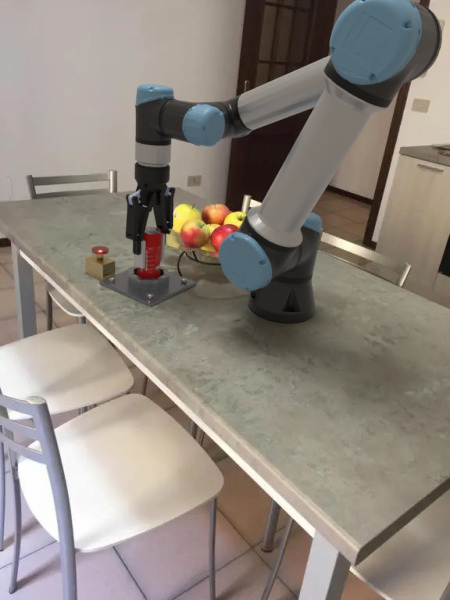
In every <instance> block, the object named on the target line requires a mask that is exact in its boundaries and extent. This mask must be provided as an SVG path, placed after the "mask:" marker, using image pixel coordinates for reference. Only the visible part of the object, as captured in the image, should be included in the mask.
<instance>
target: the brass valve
mask: <svg viewBox="0 0 450 600" xmlns="http://www.w3.org/2000/svg"><path fill="white" fill-rule="evenodd" d="M109 250H110V249H109V248H108V247H107V246H102V245H97V246H92V247H91V250H90V251H91V253H92V254H93V255H90V256H87V257H85V258H84V260H85V261H84V264H85V269H84V270H85V274H88V275H90V276H91V277H94V278H97V279H99V280H103V279H106V278H108V277H111V276H113V275H116V260H114V259H112V258H109V257H107V256H105V255H108V253H109V252H110V251H109Z"/></svg>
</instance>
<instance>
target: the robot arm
mask: <svg viewBox="0 0 450 600" xmlns="http://www.w3.org/2000/svg"><path fill="white" fill-rule="evenodd" d="M441 26H442V25H441V23H440V20H439V18H438V16H436V14H435V13H434V11H432V10H431V9H430V8H429V7H427V6H426V5H424V4H422V3H418V2H415V1H413V0H354V1H352V3H350V4H349V5H348V6H347V7H346V8H345V9H344V10H343V11H342V12H341V13H340V15H339V16H338V18H337V20H336V21H335V24H334V25H333V28H332V29H331V34H330V38H329V48H330V50H329V51H330V55H328V56H326V57H322V58H320V59H319V60H316V61H314V62H312V63H309V64H307V65H305V66H302V67H300V68H299V69H296V70H293V71H292V72H291V71H290V72H289V73H287V74H284V75H282V76H280V77H278V78H275V79H273V80H271V81H269V82H266V83H264V84H261V85H259V86H257V87H254V88H253V89H250V90H248V91H246V92H243V93H241V94H239V95H236V96H234V97H232V98H230V99H227V100H224V101H222V100H221V101H203V102H202V101H201V102H200V101H199V102H198V101H197V102H196V101H195V102H193V101H185V100H179V99H176V98H175V96H174V95H175V93H174V92H175V91H174V89H173V87H171V86H168V85H162V84H154V83H142V84H140V85H138V86H137V87H136V95H135V96H136V97H135V104H134V108H135V136H134V137H135V142H134V143H135V144H134V147H135V148H134V149H135V150H134V160H135V161H136V162H135V163H134V180H135V181H136V183H137V184H136V188H135V192H133V193H132V194H130V193H127V194H126V195H125V200H126V201H125V202H126V219H125V220H126V221H125V222H126V223H125V238H126V239H128V240H130V241H132V254H133V266H137V267H139V268H142V269H143V268H145V245H146V241H144V240H143V237H144V233H145V229H146V227H147V224H148V219H149V215H150V213H151V212H152V210H153V214H154V215H153V217H154V221H155V222H154V223H155V225H156V227H155V228H158V229H160V232H161V258H160V262H163V261H165V251H166V250H165V246H166V244H167V243H166V242H167V235H170V234H171V230H173V228H174V205H175V204H174V199H175V194H176V188H175V187H173V186H169V185H167V184H168V183H169V182H170V177H171V176H170V173H171V166H170V163H171V160H172V140H176V141H181V142H184V143H187V144H192V145H194V146H198V147H200V146H202V147H215V146H216V145H217V143H218V142H220V141H221V140H226V139H238V138H243V137H245V136H248V135H249V134H250V133H251V132H253V131H254V130H256V129H260V128H262V127H264V126H267V125H271V124H273V123H275V122H278V121H280V120H284V119H286V118H289V117H291V116H294V115H297V114H301V113H302V112H305V111H308V110H310V109H312V112H311V113H310V114H309V116H308V119H307V120H306V122H305V123H304V126H303V127H302V129H301V131H300V133H299V135H298V136H297V138H296V140H295V142H294V144H293V146H292V147H291V149H290V151H289V152H288V154H287V156H286V159H285V160H284V162H283V164H282V166H281V167H280V169H279V171H278V173H277V174H276V176H275V178H274V180H273V182H272V183H271V185H270V187H269V189H268V191H267V192H266V195H265V197H264V198H263V200H262V202H261V204H260V205H257V206H252V207H251V208H249V210H248V211H247V212H246V214H245V216H244V218H243V220H242V222H241V223H240V226H239V227H238V229H237V230H236V231H234V232H231V233H229V234H227V236H226V237H224V238H223V240H221V243H220V244H219V248H218V261H219V264H220V265H221V271H222V272H223V274H224V276H225V277H226V278H227V280H228V281H229V283H231V284H232V285H233V286H235V287H237V288H239V289H241V290H243V291H250V292H249V294H248V295H249V296H248V302H247V303H248V307H249V309H250V310H251V311H252V312H253V313H255V314H256V315H257V316H259V317H262V318H264V319H267V320H269V321H273V322H279V323H285V324H287V323H289V324H293V323H294V324H295V323H302V322H305V321H308V320H309V319H311V318H312V317H313V315H314V312H315V306H316V299H315V296H314V289H313V287H314V286H313V275H314V270H315V265H316V260H317V255H318V250H319V249H318V248H319V244H320V239H321V235H322V233H323V231H322V228H323V227H322V226H323V220H322V217H320V216H319V215H318V214H317V213H315V212H312V211H313V209H314V208H315V206H316V205H317V203H318V201H319V200H320V198H321V197H322V195H323V193H324V192H325V190H326V189H327V187H328V185H329V184H330V182H331V180H332V179H333V178H334V176H335V174H336V173H337V171H338V170H339V168H340V166H341V165H342V164H343V161H344V160H345V159H346V156H347V155H348V153H349V152H350V151H351V149H352V148H353V146H354V144H355V143H356V141H357V139H358V138H359V136H360V135H361V133H362V131H363V130H364V128H365V127H366V125H367V123H368V121H369V120H370V119H371V118H372V115H373V114H375V113H378V112H383V111H386V110H388V108H389V107H390V106H391V104H392V102H393V100H394V99H395V97H396V96H397V94H398V93H399V91H400V89H401V88H402V86H403V85H404V84H406V83H409V82H412V81H415V80H417V79H419V78H420V77H422V76H423V75H424V74H426V72H427V71H429V69H431V68H432V66H433V65H434V63H435V62H436V61H437V58H438V56H439V54H440V52H441V48H442V45H443V44H442V42H443V31H442V27H441Z"/></svg>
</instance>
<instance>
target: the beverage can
mask: <svg viewBox="0 0 450 600" xmlns="http://www.w3.org/2000/svg"><path fill="white" fill-rule="evenodd" d="M143 240H144V241H146V245H145V268H143V269H142V268H139V267H138V276H139V277H142V278H158V277H159V276H160V266H161V261H160V258H161V232H160V229H158V228H157V227H154V226H146V229H145V233H144V237H143Z"/></svg>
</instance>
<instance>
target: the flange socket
mask: <svg viewBox="0 0 450 600" xmlns="http://www.w3.org/2000/svg"><path fill="white" fill-rule="evenodd" d="M99 285H101V286H103V287H105V288H108V289H110V290H113V291H114V292H117V293H119V294H121V295H124V296H126V297H128V298H130V299H133V300H135V301H137V302H139V303H142V304H144V305H146V306H148V307H150V308H151V307H153V306H155V305H158V304H160V303H161V302H164V301H165V300H168V299H170V298H171V297H174V296H176V295H178V294H180V293H183V292H184V291H186V290H188V289H191V288H193V287H195V286H196V281H194V280H192V279H188V278H187V277H183V276H181V275H179V274H176V273H174V272H172V271H169V269H168V268H167V267H163V266H161V265H160V276H159V277H158V278H142V277H139V276H138V267H137V266H134V265H133V266H130V267H129V268H128V269H127V270H124V271H121V272H119V273H117V274H116V273H115V275H113V276H111V277H108V278H106V279H103V280H101V279H99Z"/></svg>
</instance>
